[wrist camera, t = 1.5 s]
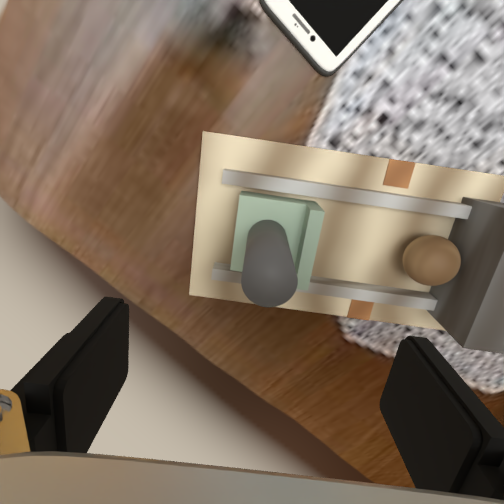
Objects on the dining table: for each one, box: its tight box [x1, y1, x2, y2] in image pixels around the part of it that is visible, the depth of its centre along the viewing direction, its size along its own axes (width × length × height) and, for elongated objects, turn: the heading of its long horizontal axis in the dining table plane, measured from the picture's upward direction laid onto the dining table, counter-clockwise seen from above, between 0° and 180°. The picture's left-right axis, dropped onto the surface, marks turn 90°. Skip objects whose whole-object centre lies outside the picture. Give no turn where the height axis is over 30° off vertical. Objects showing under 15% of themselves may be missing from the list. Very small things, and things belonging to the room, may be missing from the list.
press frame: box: [189, 131, 504, 354], centre depth 25 cm, size 24×14×8 cm, turn 82°
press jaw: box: [230, 191, 325, 307], centre depth 22 cm, size 6×6×10 cm
